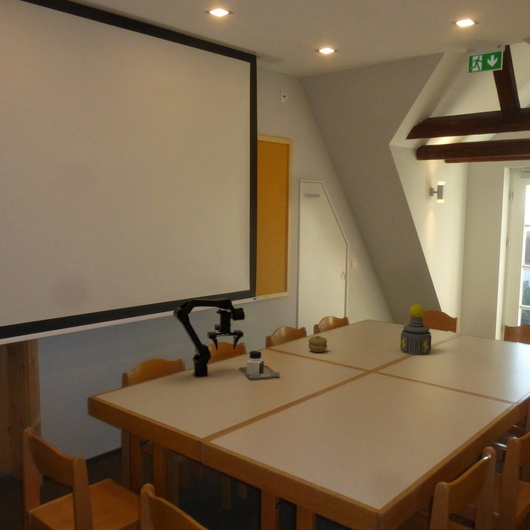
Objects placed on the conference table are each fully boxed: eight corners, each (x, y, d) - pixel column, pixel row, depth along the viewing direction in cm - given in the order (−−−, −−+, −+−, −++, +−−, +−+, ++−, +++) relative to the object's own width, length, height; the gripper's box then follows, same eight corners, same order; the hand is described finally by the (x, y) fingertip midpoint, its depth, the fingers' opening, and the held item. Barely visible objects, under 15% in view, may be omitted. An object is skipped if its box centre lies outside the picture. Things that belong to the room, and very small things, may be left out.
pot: (306, 353, 351) (306, 337, 350) (310, 348, 362) (310, 333, 361) (325, 354, 347) (325, 338, 346) (328, 350, 358) (329, 334, 358)
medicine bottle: (259, 376, 297) (259, 353, 296) (246, 374, 300) (246, 352, 299) (263, 372, 304) (264, 350, 303) (251, 371, 306) (251, 349, 305)
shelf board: (250, 380, 292) (250, 378, 292) (238, 369, 313) (238, 367, 313) (279, 378, 297) (279, 376, 297) (266, 367, 318) (266, 365, 318)
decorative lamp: (393, 349, 361) (395, 302, 358) (417, 347, 369) (419, 301, 366) (413, 356, 344) (415, 307, 341) (437, 353, 352) (439, 305, 349)
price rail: (250, 378, 292) (250, 374, 292) (249, 377, 294) (249, 374, 294) (279, 376, 297) (279, 372, 297) (278, 375, 299) (278, 371, 299)
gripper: (238, 317, 316) (238, 345, 317) (205, 319, 310) (205, 347, 311) (243, 321, 305) (243, 350, 307) (209, 323, 299) (209, 352, 301)
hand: (225, 350), depth 307 cm, fingers open, 9 cm apart
